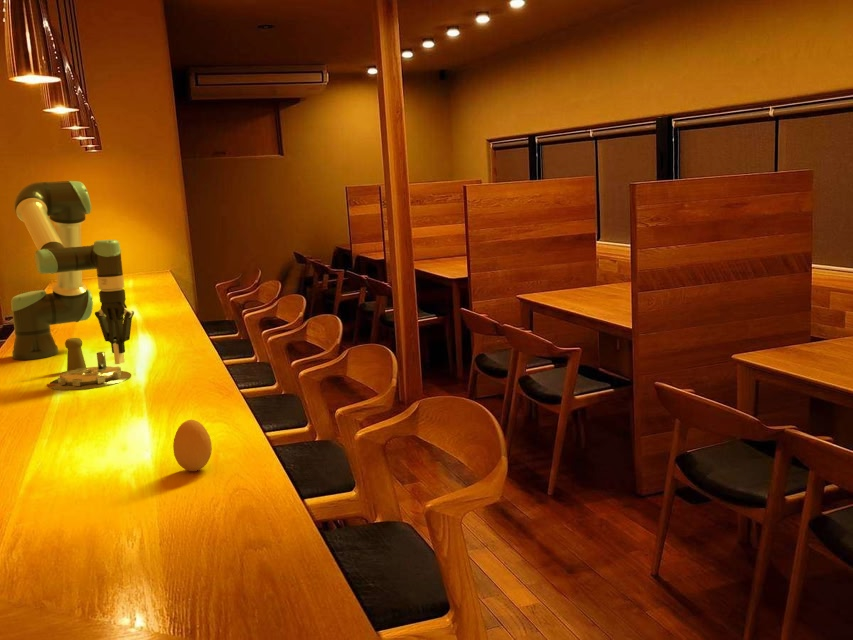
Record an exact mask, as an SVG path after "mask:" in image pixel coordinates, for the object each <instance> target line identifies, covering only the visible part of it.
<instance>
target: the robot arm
mask: <svg viewBox="0 0 853 640" xmlns="http://www.w3.org/2000/svg"><path fill="white" fill-rule="evenodd" d="M13 207H14V212H15V214H16V217H17V218H18V219H19V220H20V221H21V222H22V223H24V226H25V228H26V230H27V231H28V233H29V235H30V238H31V239H32V242H33V243H34V246H35V247H36V249H37V250H36V251H35V254H34V261H35V266H36V270H37V271H38V272H39V273H40V274H46V275H47V274H52V275H54V274H56V283H55V284H54V285H53V286H52V292H51V293H50V292H49V293H47V291H46V290H45V289H40V290H39V289H38V290H32V291H28V292H23V293H20V294H17V295H15V296H13V297H12V298H11V300H10V303H11V307H10V310H11V313H12V314H11V315H12V320H13V327H14V335H15V337H14V342H13V349H12V353H11V354H12V359H14V360H20V361H25V360H26V361H27V360H36V359H38V360H39V359H44V358H49V357H52V356H56V355H57V354H59V347H58V345H57V344H56V341H55V339H54V337H53V335H52V333H51V326H52V325H53V326H54V325H61V324H69V323H79V322H83V321H86V320H89V318H91V316H92V313H93V307H94V305H93V304H94V302H93V295H92V291H90V289H88V288H87V286H86V285H85V283H83V271H88V270H89V271H90V270H96V277H97V285H98V289H99V290H100V291H99V292H98V295H99V296H98V297H99V303H101V306H100V309H99V310H98V311H95V312H94V315H95V317H96V318H97V321H98V323H99V327H100V329H101V332H102V336H103V339H104V341H105V342H108V343H110V346H111V352H112V354H113V356H114V364H115V365H121V364H123V363H125V354H124V353H126V345H125V343H126V342H127V341H129V340H130V338H131V329H132V319H133V316H134V314H135V312H134V310H130V309H128V307H127V305H126V292H125V289H124V288H125V280H124V272H123V262H122V254H121V253H122V249H121V245H120V241H119V240H117V239H100V240H96V241H94V242H93V244H91V245H85V246H83V245H82V224H83V223H84V222H85V221H86V215H89V214H91V212H92V202H91V199H90V195H89V192H88V189H87V187H86V185H85V184H84V183H83V182H81V181H78V180H77V181H76V180H75V181H74V180H65V181H63V180H60V181H36V182H33V183H29V184H27V185H25V186H24V187H23V188H22V189H20V191H19V192H18V193H17V195H16V197H15V199H14V204H13ZM53 224H54V225H53Z"/></svg>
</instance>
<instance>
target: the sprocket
mask: <svg viewBox="0 0 853 640" xmlns="http://www.w3.org/2000/svg"><path fill="white" fill-rule="evenodd" d="M105 353H106V352H105V351H98V352H96V358H97V359H96V360H97V366H91V367H86V368H78V369H76V370H70V371H68V372H67V371H66V372H61V373H59V377H57V379H58V384H60V385H63V384H67V385H73V386H81V385H87V384H95V383H97V384H100V383H105V381H109V380H112V379H116V378H120V377H121V371H122V368H121V367H120V366H115V367H114V366H107V362H106V361H107V360H106V354H105Z"/></svg>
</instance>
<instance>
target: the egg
mask: <svg viewBox="0 0 853 640" xmlns="http://www.w3.org/2000/svg"><path fill="white" fill-rule="evenodd" d="M172 444H173V445H172V446H173V447H172V448H173V450H172V451H173V456H174V457H175V458H174V459H175V460H176V462H177V464H178V465H179V466H180V467H181V468H182V469H184V470H186V471H188V472H198V471H201V470H202V469H203V468H205V466H206V465H207V464H208V463H209V460H210V459H211V455H212V450H213V447H212V440H211V436H210V434H209V432H208V430H207V429H206V427H205V426H204V425H203V423H201V422H200V421H198V420H195V419H188V420H185V421H184V422H182V423H181V424H180V426H178V429H177V430H176V432H175V435H174V438H173V442H172ZM197 470H198V471H197Z"/></svg>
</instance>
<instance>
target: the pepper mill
mask: <svg viewBox="0 0 853 640" xmlns="http://www.w3.org/2000/svg"><path fill="white" fill-rule="evenodd" d="M64 346H65V348H66V349H67V355H66V357H67V359H66V360H67V362H66V364H67V365H66V372H68V371H70V370H76V369H78V368H87V365H86V360H85V357H84V353H83V350H82V346H83V340H82V339H81V338H80V337H72V338H71V337H70V338H68V339H66V340H65V342H64Z"/></svg>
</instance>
